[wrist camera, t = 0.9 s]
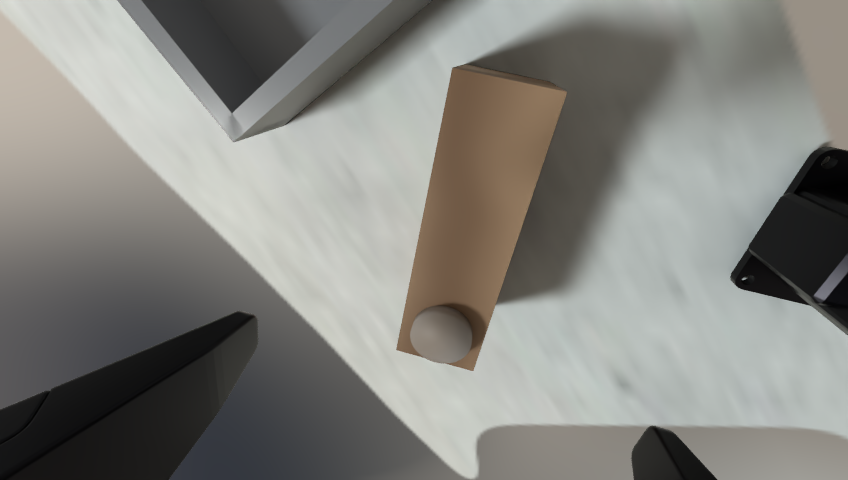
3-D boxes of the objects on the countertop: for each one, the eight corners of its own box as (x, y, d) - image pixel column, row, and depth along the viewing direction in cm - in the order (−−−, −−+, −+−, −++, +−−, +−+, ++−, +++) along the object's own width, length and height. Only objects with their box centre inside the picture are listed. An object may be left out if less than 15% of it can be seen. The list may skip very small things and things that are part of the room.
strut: (549, 81, 16) (570, 93, 11) (478, 305, 22) (472, 381, 17) (465, 63, 16) (450, 68, 11) (417, 289, 22) (392, 359, 17)
